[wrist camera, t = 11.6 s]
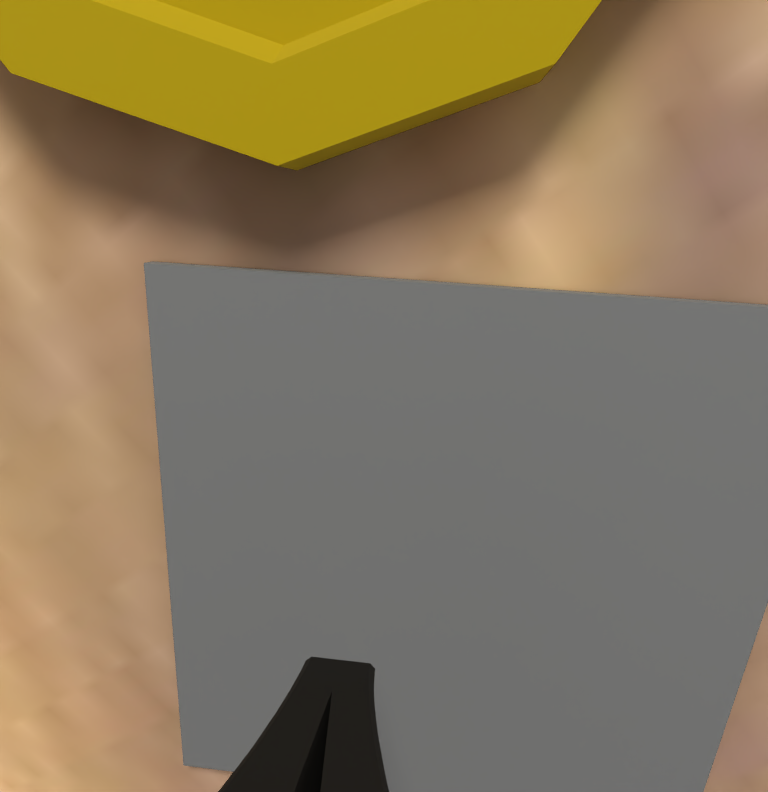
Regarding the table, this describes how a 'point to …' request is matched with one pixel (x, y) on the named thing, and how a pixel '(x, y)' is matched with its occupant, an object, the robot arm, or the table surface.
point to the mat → (464, 518)
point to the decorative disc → (288, 63)
